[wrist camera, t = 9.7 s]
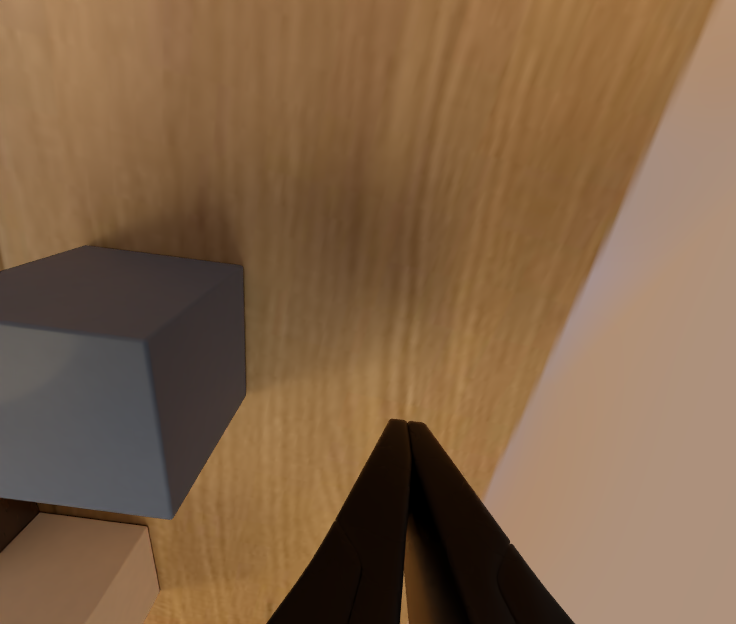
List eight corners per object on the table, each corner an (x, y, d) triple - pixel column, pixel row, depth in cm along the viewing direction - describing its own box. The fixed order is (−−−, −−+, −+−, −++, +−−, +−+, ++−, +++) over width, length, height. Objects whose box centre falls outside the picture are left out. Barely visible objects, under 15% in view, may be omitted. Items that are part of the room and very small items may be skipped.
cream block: (148, 525, 17) (56, 667, 12) (160, 591, 19) (86, 733, 14) (39, 511, 17) (-94, 647, 12) (63, 578, 19) (-43, 716, 14)
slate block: (244, 264, 11) (145, 341, 7) (246, 395, 13) (172, 521, 9) (85, 244, 11) (-121, 306, 7) (112, 378, 13) (-33, 495, 9)
